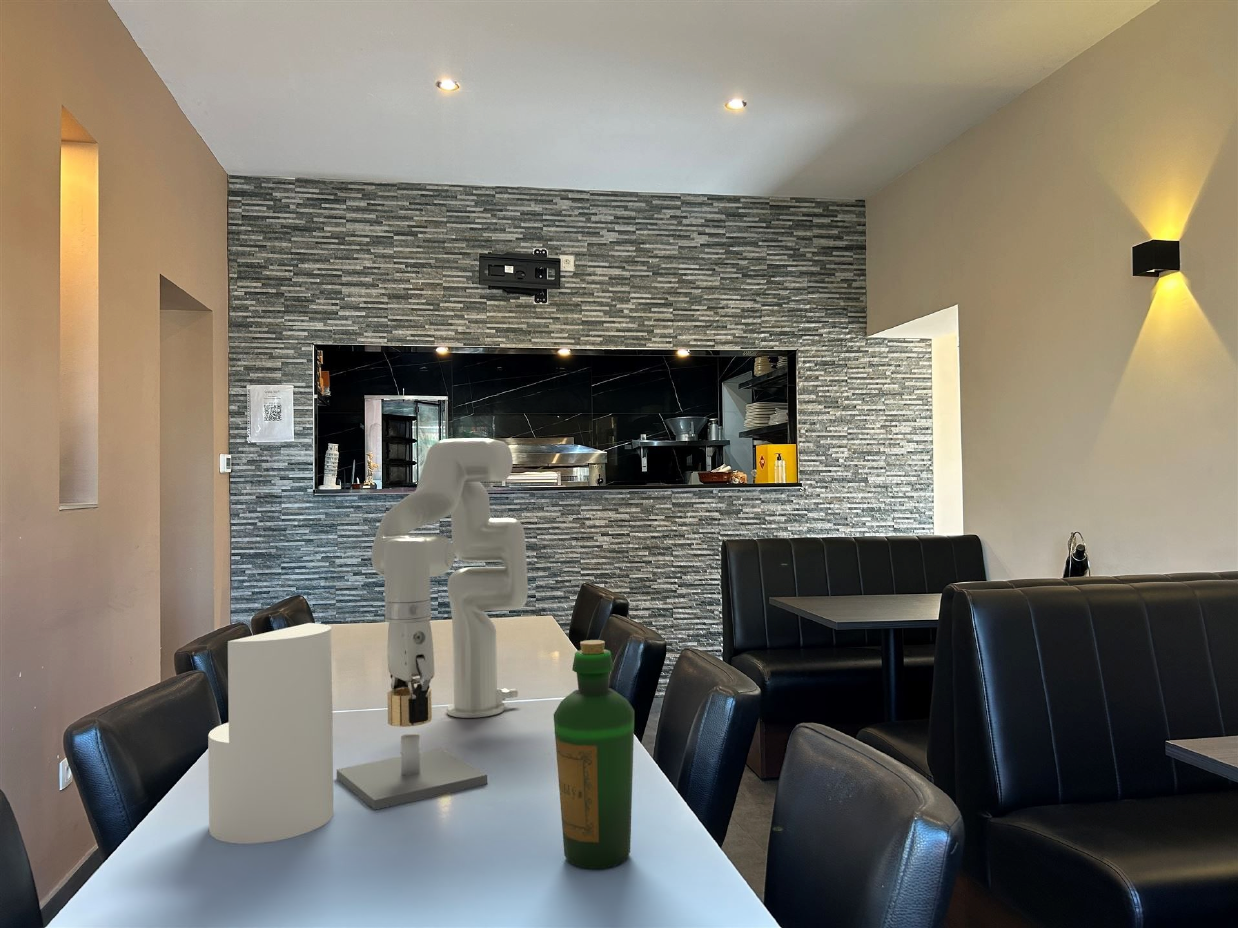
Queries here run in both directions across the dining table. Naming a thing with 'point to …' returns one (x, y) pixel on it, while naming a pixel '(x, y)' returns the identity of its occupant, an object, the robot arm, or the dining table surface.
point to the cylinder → (274, 738)
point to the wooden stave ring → (403, 707)
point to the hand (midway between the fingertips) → (409, 716)
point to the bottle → (595, 763)
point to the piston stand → (410, 776)
